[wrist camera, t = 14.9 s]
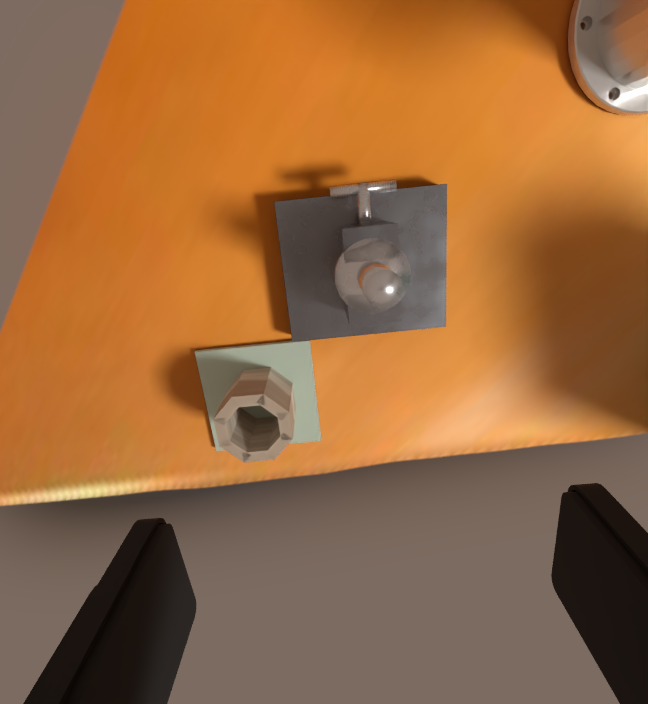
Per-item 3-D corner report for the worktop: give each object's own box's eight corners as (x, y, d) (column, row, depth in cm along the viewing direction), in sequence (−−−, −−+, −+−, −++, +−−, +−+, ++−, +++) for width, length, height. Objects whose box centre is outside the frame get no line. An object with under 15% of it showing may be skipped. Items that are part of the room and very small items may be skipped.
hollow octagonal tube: (290, 365, 39) (286, 391, 33) (298, 423, 41) (295, 457, 35) (224, 371, 39) (208, 399, 33) (235, 429, 41) (223, 464, 35)
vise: (439, 177, 34) (502, 161, 22) (439, 320, 38) (492, 367, 27) (275, 194, 34) (255, 186, 23) (293, 335, 38) (284, 388, 27)
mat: (309, 338, 38) (309, 340, 38) (321, 437, 42) (321, 440, 41) (196, 350, 38) (194, 352, 38) (217, 447, 42) (216, 450, 42)
